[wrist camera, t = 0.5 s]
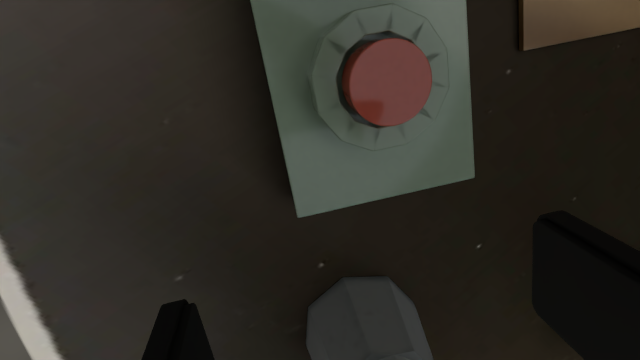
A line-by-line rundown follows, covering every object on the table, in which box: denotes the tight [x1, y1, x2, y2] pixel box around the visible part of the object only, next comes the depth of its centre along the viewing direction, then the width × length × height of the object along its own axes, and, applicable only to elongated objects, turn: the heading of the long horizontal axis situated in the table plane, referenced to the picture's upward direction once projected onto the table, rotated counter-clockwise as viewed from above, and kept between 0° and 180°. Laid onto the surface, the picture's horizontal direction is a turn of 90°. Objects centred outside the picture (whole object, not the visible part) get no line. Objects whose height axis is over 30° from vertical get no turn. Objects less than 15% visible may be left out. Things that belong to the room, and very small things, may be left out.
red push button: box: [342, 38, 432, 126], centre depth 19 cm, size 4×4×2 cm
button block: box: [249, 0, 475, 218], centre depth 22 cm, size 14×11×5 cm
